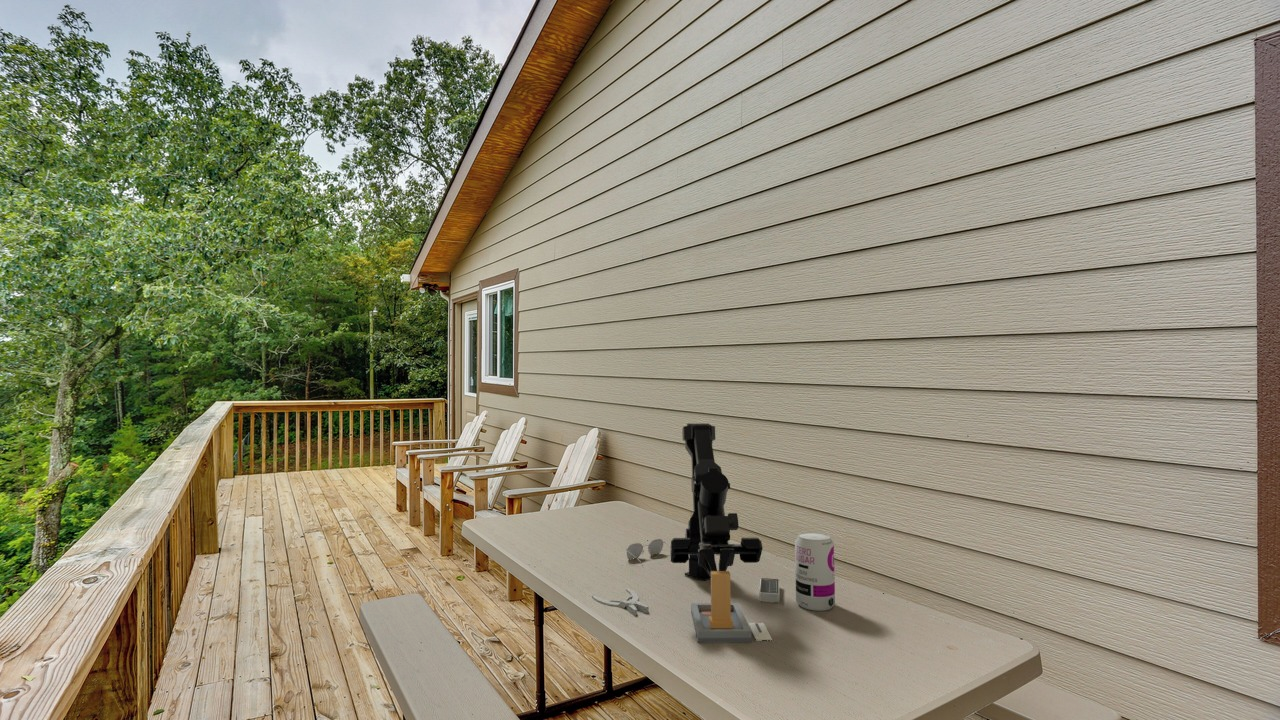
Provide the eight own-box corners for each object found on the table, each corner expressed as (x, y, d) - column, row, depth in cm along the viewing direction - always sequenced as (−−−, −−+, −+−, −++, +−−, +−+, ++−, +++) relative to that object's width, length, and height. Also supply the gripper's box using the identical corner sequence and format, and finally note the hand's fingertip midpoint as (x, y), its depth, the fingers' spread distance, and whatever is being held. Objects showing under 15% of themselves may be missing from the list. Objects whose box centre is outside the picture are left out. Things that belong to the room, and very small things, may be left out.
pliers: (628, 584, 144) (661, 604, 131) (628, 591, 144) (661, 611, 131) (590, 591, 139) (621, 612, 126) (590, 598, 139) (621, 620, 126)
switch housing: (691, 612, 129) (691, 603, 129) (757, 612, 129) (756, 602, 129) (698, 642, 114) (697, 631, 114) (772, 641, 114) (772, 631, 114)
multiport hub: (759, 602, 136) (759, 592, 136) (760, 587, 147) (760, 577, 147) (779, 604, 135) (779, 593, 135) (779, 588, 146) (779, 578, 146)
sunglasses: (663, 554, 177) (664, 537, 176) (681, 565, 170) (683, 548, 170) (623, 562, 168) (625, 544, 168) (641, 574, 162) (643, 556, 161)
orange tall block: (708, 622, 121) (708, 570, 121) (730, 622, 121) (730, 570, 121) (710, 628, 118) (710, 575, 118) (733, 628, 118) (732, 574, 118)
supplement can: (837, 601, 136) (835, 533, 136) (832, 614, 128) (830, 542, 129) (800, 596, 139) (798, 530, 140) (793, 608, 131) (791, 538, 132)
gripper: (670, 499, 127) (674, 568, 116) (760, 498, 127) (772, 567, 116) (669, 528, 135) (672, 596, 123) (753, 528, 135) (764, 596, 123)
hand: (719, 588), depth 121 cm, fingers closed, pressing on orange tall block
